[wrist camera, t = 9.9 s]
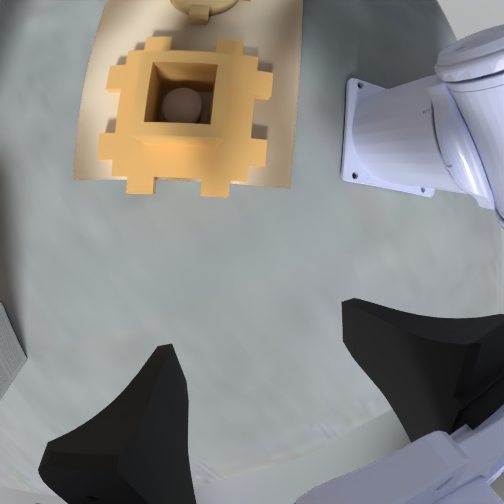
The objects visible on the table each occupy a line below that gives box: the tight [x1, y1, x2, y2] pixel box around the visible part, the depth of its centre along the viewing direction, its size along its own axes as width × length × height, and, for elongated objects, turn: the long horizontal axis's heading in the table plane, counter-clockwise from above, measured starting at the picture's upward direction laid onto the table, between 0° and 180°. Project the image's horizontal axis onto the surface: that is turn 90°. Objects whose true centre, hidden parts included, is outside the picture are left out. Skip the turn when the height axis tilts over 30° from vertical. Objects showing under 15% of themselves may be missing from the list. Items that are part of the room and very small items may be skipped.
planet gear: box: [97, 37, 273, 198], centre depth 14 cm, size 10×10×5 cm
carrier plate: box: [73, 0, 303, 189], centre depth 14 cm, size 14×18×4 cm
